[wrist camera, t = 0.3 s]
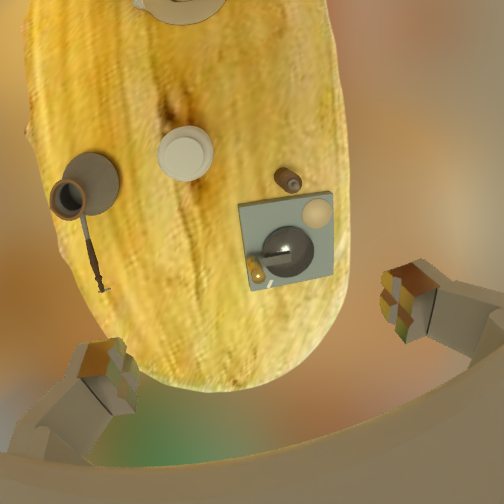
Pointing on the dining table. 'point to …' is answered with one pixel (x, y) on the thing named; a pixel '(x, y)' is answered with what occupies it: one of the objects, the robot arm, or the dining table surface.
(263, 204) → the board
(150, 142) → the dining table surface
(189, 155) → the pill bottle
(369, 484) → the robot arm
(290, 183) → the brown bottle
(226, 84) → the dining table surface
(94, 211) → the coffee pot
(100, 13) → the dining table surface
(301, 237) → the dial
